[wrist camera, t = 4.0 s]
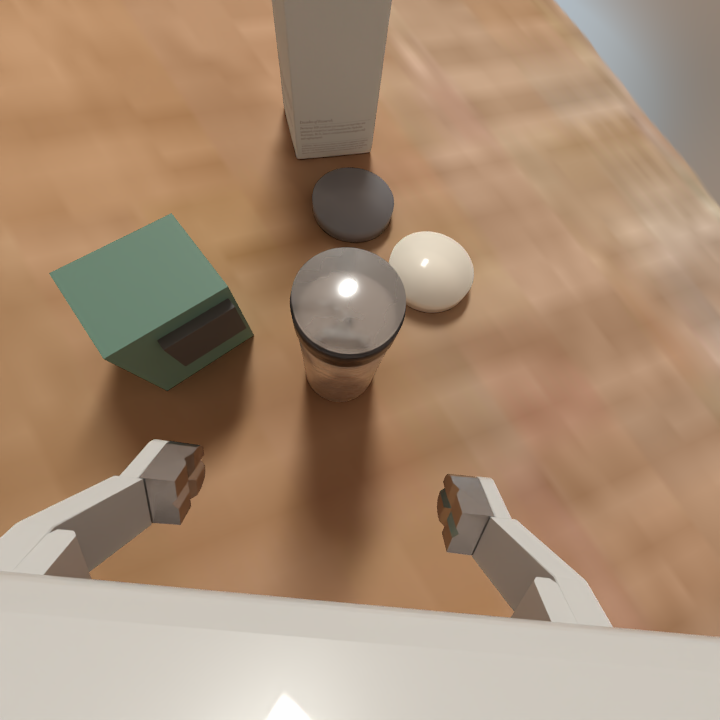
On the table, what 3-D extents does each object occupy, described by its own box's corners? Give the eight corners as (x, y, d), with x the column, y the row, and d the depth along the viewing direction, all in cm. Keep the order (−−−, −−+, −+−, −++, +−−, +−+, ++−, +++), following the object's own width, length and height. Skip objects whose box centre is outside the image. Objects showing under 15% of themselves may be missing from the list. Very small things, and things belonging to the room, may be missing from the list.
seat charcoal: (345, 256, 28) (346, 247, 27) (296, 200, 29) (295, 189, 28) (407, 218, 30) (410, 208, 29) (358, 167, 31) (359, 156, 30)
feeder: (172, 398, 23) (110, 369, 16) (124, 327, 24) (49, 273, 18) (259, 342, 25) (234, 295, 18) (210, 278, 26) (171, 213, 20)
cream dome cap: (425, 328, 27) (429, 322, 25) (370, 266, 28) (371, 258, 27) (484, 283, 28) (491, 276, 27) (430, 228, 30) (434, 218, 29)
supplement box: (372, 154, 32) (400, -35, 20) (295, 161, 31) (276, -35, 19) (355, 99, 34) (371, -101, 22) (282, 104, 33) (257, -105, 21)
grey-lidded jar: (333, 418, 24) (339, 377, 13) (290, 362, 25) (264, 283, 14) (388, 375, 25) (432, 307, 15) (345, 324, 26) (358, 227, 16)
